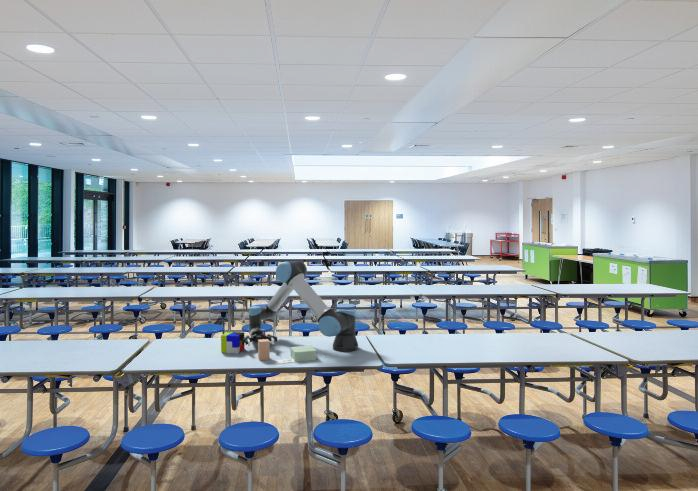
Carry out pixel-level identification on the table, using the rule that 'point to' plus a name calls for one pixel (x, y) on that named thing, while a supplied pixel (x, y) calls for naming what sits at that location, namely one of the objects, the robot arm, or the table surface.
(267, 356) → the brick
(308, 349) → the base block
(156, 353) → the table surface
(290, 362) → the page
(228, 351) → the puzzle toy
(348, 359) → the table surface
